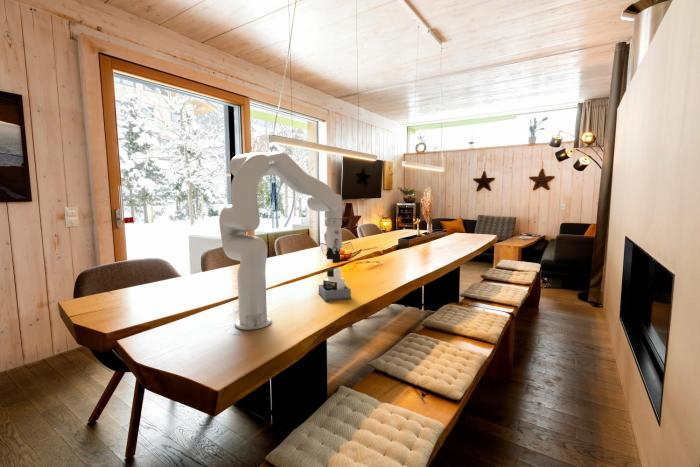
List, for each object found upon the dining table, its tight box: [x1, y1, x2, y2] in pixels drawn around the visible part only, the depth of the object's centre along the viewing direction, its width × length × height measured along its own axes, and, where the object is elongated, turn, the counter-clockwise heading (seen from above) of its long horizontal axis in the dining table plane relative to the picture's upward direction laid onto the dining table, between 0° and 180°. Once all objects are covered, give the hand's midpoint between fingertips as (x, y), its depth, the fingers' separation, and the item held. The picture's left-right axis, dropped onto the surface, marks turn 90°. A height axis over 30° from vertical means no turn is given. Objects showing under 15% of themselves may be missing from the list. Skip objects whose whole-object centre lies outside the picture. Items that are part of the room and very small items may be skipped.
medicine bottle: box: [322, 267, 346, 291], centre depth 156 cm, size 7×7×12 cm
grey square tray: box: [318, 284, 352, 303], centre depth 157 cm, size 12×12×4 cm
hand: (333, 260), depth 155 cm, fingers open, 9 cm apart
